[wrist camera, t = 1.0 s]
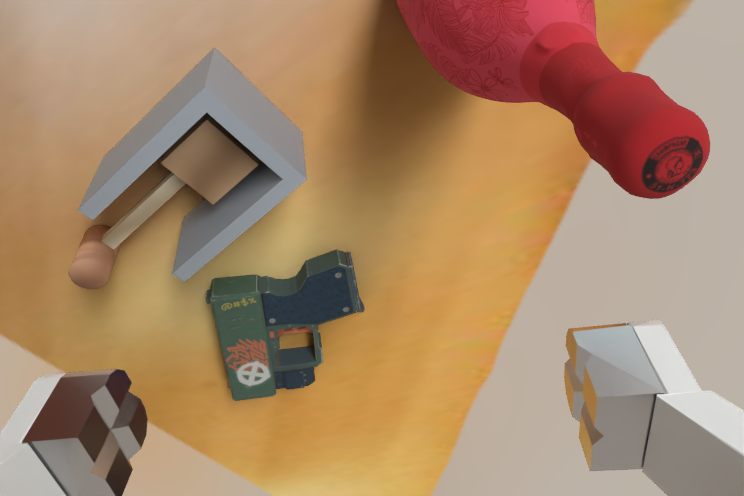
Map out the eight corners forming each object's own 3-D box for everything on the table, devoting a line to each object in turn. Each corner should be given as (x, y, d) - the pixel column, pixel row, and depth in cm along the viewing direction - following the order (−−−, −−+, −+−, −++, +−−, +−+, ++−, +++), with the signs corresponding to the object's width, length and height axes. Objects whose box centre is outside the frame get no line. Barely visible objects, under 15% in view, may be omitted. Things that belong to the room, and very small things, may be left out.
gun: (363, 361, 68) (229, 378, 66) (360, 243, 58) (202, 259, 56) (368, 383, 65) (228, 401, 63) (365, 264, 55) (199, 281, 53)
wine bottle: (412, 58, 47) (557, 317, 23) (366, -71, 41) (497, 95, 17) (531, 7, 46) (813, 223, 22) (501, -134, 40) (841, -49, 16)
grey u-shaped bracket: (103, 157, 48) (77, 210, 42) (214, 47, 45) (204, 87, 38) (194, 225, 53) (184, 282, 47) (302, 131, 49) (306, 179, 43)
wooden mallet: (67, 232, 52) (49, 268, 48) (212, 92, 46) (206, 120, 42) (116, 264, 54) (103, 301, 50) (259, 135, 49) (258, 165, 45)
